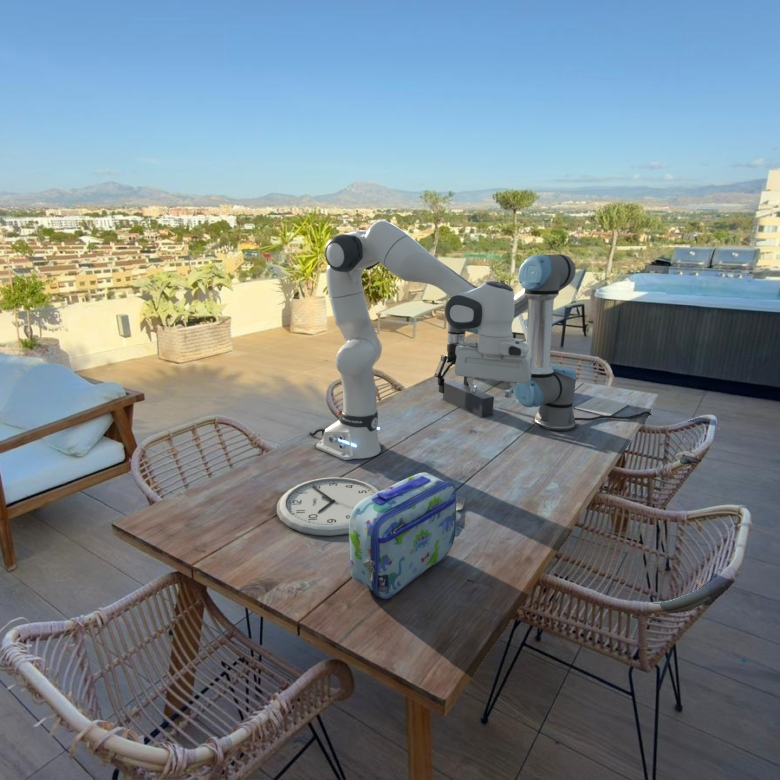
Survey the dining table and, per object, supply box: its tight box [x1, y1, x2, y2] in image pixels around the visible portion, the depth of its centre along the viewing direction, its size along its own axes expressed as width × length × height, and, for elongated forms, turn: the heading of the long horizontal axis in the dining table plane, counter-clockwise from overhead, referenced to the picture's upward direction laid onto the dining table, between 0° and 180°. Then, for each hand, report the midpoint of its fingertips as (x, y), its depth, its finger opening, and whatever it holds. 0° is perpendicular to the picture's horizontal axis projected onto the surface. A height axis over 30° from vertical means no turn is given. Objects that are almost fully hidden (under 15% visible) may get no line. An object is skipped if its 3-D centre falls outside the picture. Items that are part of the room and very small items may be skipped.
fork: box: [456, 494, 466, 512], centre depth 138 cm, size 3×16×2 cm, turn 160°
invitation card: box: [573, 396, 629, 416], centre depth 226 cm, size 21×1×15 cm
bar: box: [442, 380, 495, 418], centre depth 222 cm, size 26×6×8 cm, turn 31°
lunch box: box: [348, 471, 457, 600], centre depth 113 cm, size 26×11×21 cm, turn 134°
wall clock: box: [276, 476, 381, 537], centre depth 142 cm, size 30×2×30 cm
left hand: (490, 394), depth 142 cm, fingers open, 8 cm apart
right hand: (453, 390), depth 230 cm, fingers open, 13 cm apart
